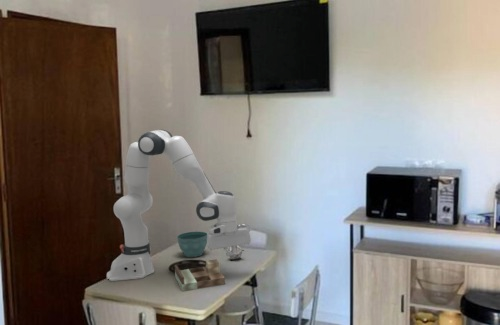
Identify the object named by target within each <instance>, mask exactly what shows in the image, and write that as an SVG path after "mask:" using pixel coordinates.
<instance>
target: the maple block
mask: <svg viewBox="0 0 500 325" xmlns="http://www.w3.org/2000/svg"><path fill="white" fill-rule="evenodd" d="M205 266H206V270H207V273H208V274H209V275H210V274H216V273H220V272H221V271H220V262H219V260H218V259H207V260H205Z"/></svg>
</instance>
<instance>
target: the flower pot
mask: <svg viewBox="0 0 500 325" xmlns="http://www.w3.org/2000/svg"><path fill="white" fill-rule="evenodd" d="M207 235H208V233H207V232H205V231H187V232H182V233H179V234H178V235H177V236H176V239H177V243H178V247H179V250H181V251H182V252H183V254H184V257H187V258H196V257H200V256H202V255H203V253H204V251H205V248H206V247H207Z"/></svg>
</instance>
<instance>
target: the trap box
mask: <svg viewBox="0 0 500 325" xmlns="http://www.w3.org/2000/svg"><path fill="white" fill-rule="evenodd" d="M173 266H174V276H175V279H176V281H177V283H178V286H179V287H180V289H181V291H182V292H185V291H186V292H187V291H192V290H197V289H198V290H199V289H204V288H209V287H216V286H222V285H226V277H225V276H224V275H223V274H222V272H221V271H220V273H216V274H210V275H209V274H208V273H207V270H206V265H205V266H200V267H194V268H187V269H180V267H179V266H178V264H174V265H173Z"/></svg>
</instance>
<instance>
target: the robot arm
mask: <svg viewBox="0 0 500 325" xmlns="http://www.w3.org/2000/svg"><path fill="white" fill-rule="evenodd" d="M162 154H164V155H166V156H167V157H168V159H169V161H170V163H171V165H172V167H173V169H174V170H175V172H176V173H177V175H178V176H180V177H181V178H184V179H187V180H190V181H192V183H194V184H195V186H196V188H197V189H198V191H199V192H200V195H201V196H202V198H203V200H201V201H200V202H199V203H198V204H197V205H196V209H195V213H196V215H197V217H198V218H199V219H200V220H201V221H205V222H207V221H213V220H217V223H214V224H213V225H210V226H208V228H207V231H208V233H207V234H208V235H207V244H206V247H207V249H209V250H210V251H212V250H218V249H223V250H224V251H225V254H226V257H230V256H233V255H234V254H233V252H234V250H235V246H238V245H239V246H243V245H244V246H245V245H250V243H251V242H252V239H251V235H250V231H251V227H250V225H249V224H247V223H244V224H238V218H237V215H236V214H237V204H236V198H235V195H234V194H233V193H232V192H231V191H226V190H221V191H220V190H219V191H217V192H216V191H215V189H214V187H213V185H212V184H211V182H210V180H209V178H208V177H207V175H206V174H205V172H204V170H203V168H202V167H201V165H200V163H199V161H198V160H197V157H196V155H195V153H194V152H193V150H192V148H191V146H190V145H189V143H188V142H187V140H186V139H185V138H184V137H183V136H181V135H172V133H171V132H170V131H168V130H166V129H156V130H151V131H146V132H144V133H143V134H142V135H140V137H139V138H138V140H137V141H135V142H132V143H130V145H129V146H128V150H127V154H126V158H125V169H124V177H123V178H124V182H125V184H126V186H127V192H128V193H127V195H124V196H121V197H120V198H119V199H117V200H116V202H114V204H113V213H114V215H115V216H116V218H117V219H119V221H120V223H121V226H122V229H123V233H124V234H123V235H124V244H120V245H119V249H120V250H121V251H120V252H121V253H120V255H118V256H117V257H116V258H115V259H114V260H113V261H112V262H111V266H110V270H109V271H107V272H106V279H107V280H108V279H109V280H108V281H111V282H115V281H116V282H118V281H126V280H138V279H143V278H145V277H147V276H149V275H152V274H153V273H154V272H155V268H154V265H153V263H152V258H151V252H152V251H151V250H152V249H151V244H150V241H149V240H150V239H149V230H148V226H147V225H146V224H145V223H144V221H143V217H142V214H144V213H146V212H147V211H149V209H150V208H151V207H152V206H153V203H154V199H153V196H152V194H151V193H150V187H149V176H150V174H149V173H150V166H151V164H150V162H151V159H152V156H157V155H162ZM229 247H232V250H231V251H230V252H228V249H229Z"/></svg>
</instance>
